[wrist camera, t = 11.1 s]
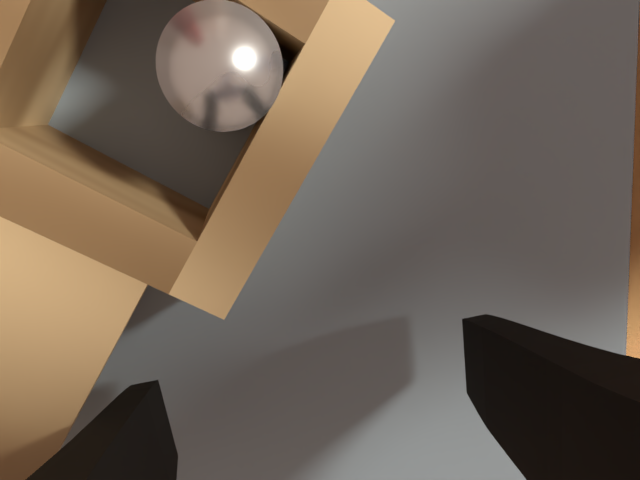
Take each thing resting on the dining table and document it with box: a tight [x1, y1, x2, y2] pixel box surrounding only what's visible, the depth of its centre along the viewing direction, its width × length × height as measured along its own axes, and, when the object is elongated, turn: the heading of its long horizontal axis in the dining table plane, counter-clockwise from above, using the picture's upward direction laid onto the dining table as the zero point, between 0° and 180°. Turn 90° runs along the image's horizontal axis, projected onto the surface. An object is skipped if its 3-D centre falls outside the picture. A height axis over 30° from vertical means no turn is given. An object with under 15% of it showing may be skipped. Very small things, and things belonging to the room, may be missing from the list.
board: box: [48, 0, 640, 480], centre depth 12 cm, size 22×21×1 cm
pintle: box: [156, 0, 283, 132], centre depth 9 cm, size 2×2×4 cm
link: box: [0, 0, 395, 480], centre depth 10 cm, size 15×6×3 cm, turn 150°
